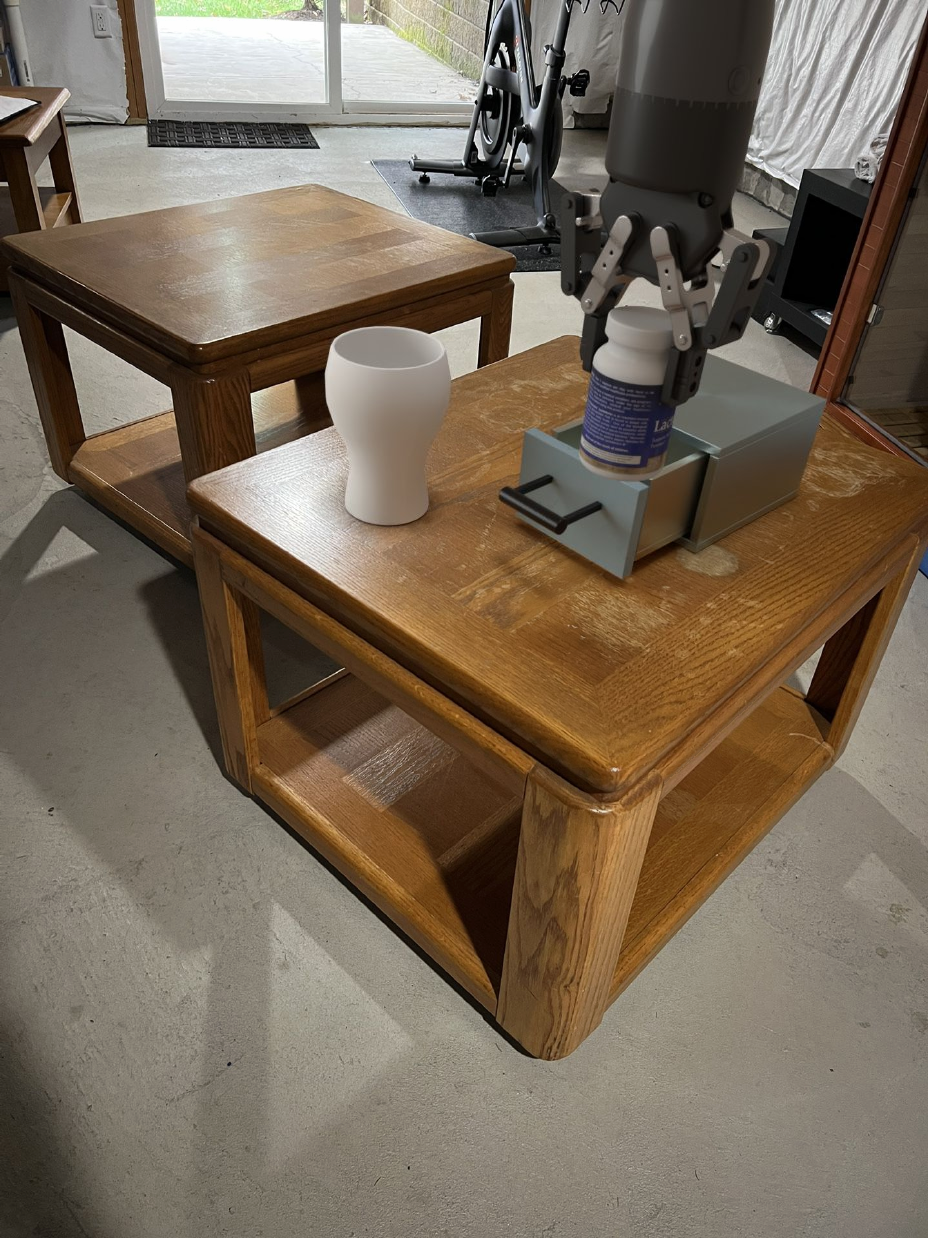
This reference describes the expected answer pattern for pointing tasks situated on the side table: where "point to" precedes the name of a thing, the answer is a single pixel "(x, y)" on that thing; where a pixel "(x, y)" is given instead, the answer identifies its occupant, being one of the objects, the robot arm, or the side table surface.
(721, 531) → the drawer cabinet
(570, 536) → the drawer
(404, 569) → the side table surface
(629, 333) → the pill bottle
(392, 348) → the cup
